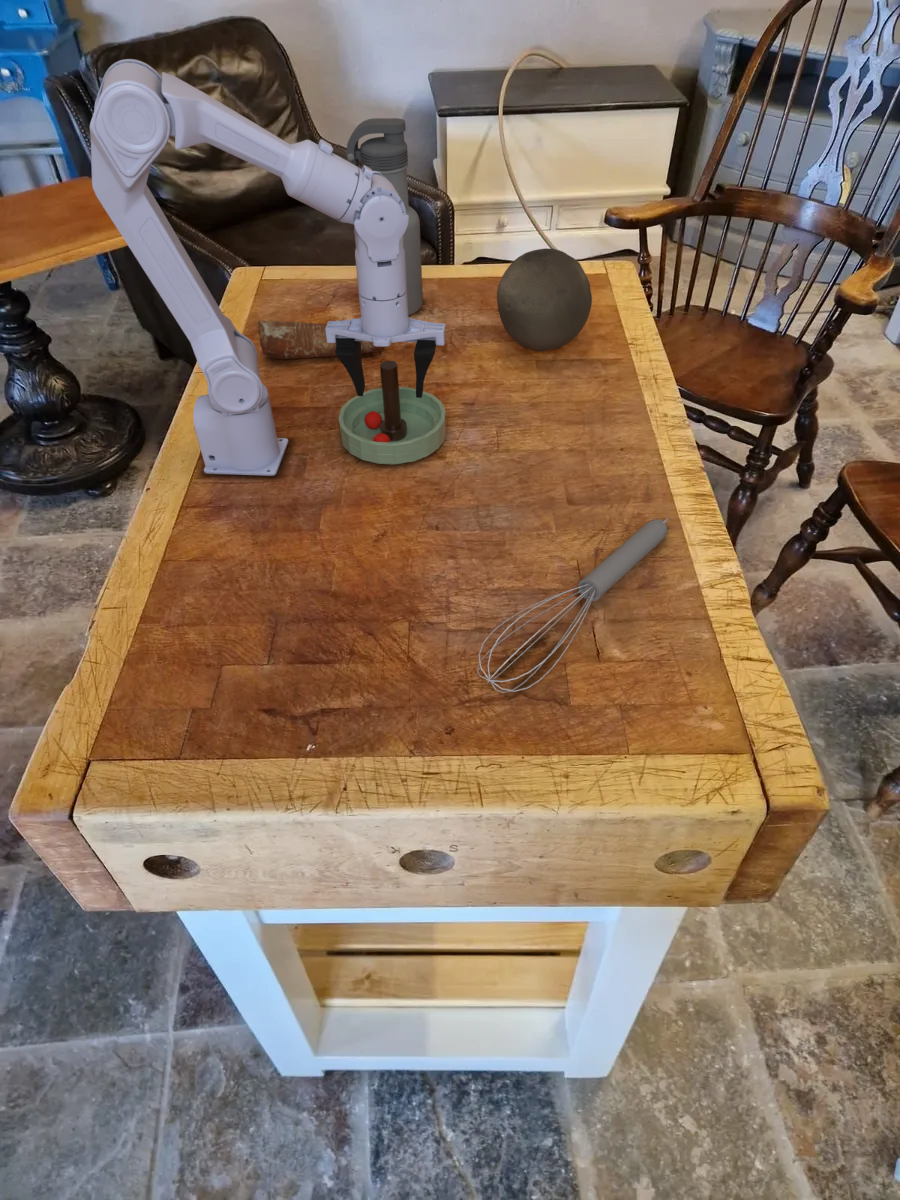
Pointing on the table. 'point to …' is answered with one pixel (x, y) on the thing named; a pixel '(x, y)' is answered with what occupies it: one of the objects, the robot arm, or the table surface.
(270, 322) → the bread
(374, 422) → the tomato
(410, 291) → the water bottle
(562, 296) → the dark grey ball
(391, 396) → the stirrer
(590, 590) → the kitchen whisk
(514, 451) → the table surface
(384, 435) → the tomato
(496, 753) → the table surface
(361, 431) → the bowl
